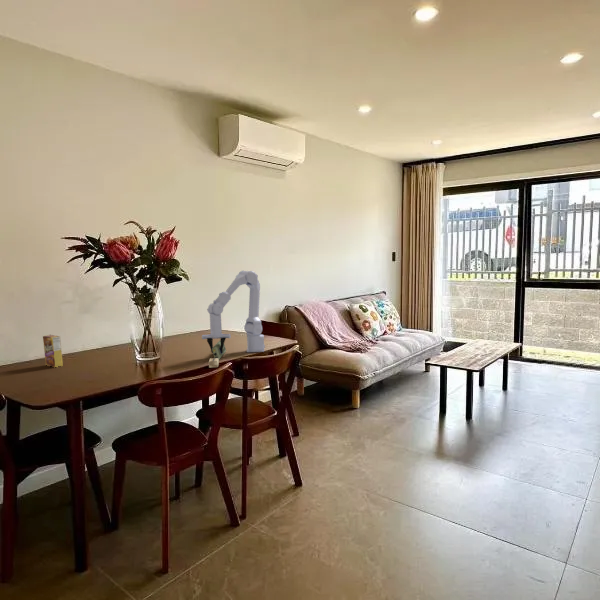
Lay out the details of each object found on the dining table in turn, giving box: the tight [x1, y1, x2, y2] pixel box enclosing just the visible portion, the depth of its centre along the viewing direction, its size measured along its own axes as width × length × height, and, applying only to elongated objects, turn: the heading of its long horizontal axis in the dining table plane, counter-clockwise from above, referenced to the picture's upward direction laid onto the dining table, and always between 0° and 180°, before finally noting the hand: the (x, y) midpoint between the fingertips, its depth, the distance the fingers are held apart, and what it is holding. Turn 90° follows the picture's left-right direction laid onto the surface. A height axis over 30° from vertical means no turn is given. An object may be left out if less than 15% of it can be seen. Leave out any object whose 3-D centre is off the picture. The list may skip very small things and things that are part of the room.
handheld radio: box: [212, 340, 227, 360], centre depth 237 cm, size 7×3×25 cm
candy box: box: [42, 334, 64, 368], centre depth 226 cm, size 9×4×15 cm, turn 57°
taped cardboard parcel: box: [208, 357, 220, 368], centre depth 237 cm, size 4×42×3 cm, turn 5°
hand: (216, 352), depth 237 cm, fingers open, 4 cm apart
